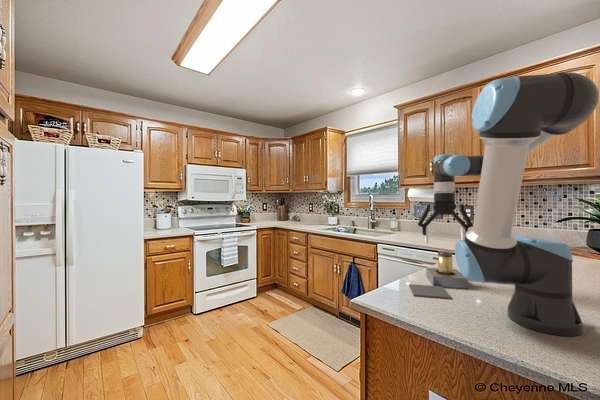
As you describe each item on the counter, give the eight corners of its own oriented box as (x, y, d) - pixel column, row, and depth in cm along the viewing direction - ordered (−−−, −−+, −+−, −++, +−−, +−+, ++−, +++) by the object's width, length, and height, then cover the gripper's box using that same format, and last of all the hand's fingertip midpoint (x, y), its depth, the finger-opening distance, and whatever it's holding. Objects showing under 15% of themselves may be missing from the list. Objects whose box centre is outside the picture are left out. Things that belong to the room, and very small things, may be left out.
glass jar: (454, 284, 105) (453, 253, 105) (440, 283, 106) (439, 253, 106) (450, 280, 110) (450, 251, 110) (436, 280, 111) (436, 250, 111)
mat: (451, 299, 89) (451, 297, 89) (413, 296, 93) (413, 294, 93) (442, 287, 101) (442, 286, 101) (409, 285, 104) (409, 284, 104)
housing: (467, 288, 99) (467, 278, 100) (433, 286, 103) (433, 276, 103) (456, 278, 113) (456, 269, 113) (426, 276, 116) (426, 267, 116)
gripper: (475, 192, 108) (475, 243, 109) (410, 193, 115) (411, 241, 115) (482, 191, 101) (482, 246, 101) (413, 192, 108) (413, 244, 108)
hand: (444, 243), depth 108 cm, fingers open, 13 cm apart
